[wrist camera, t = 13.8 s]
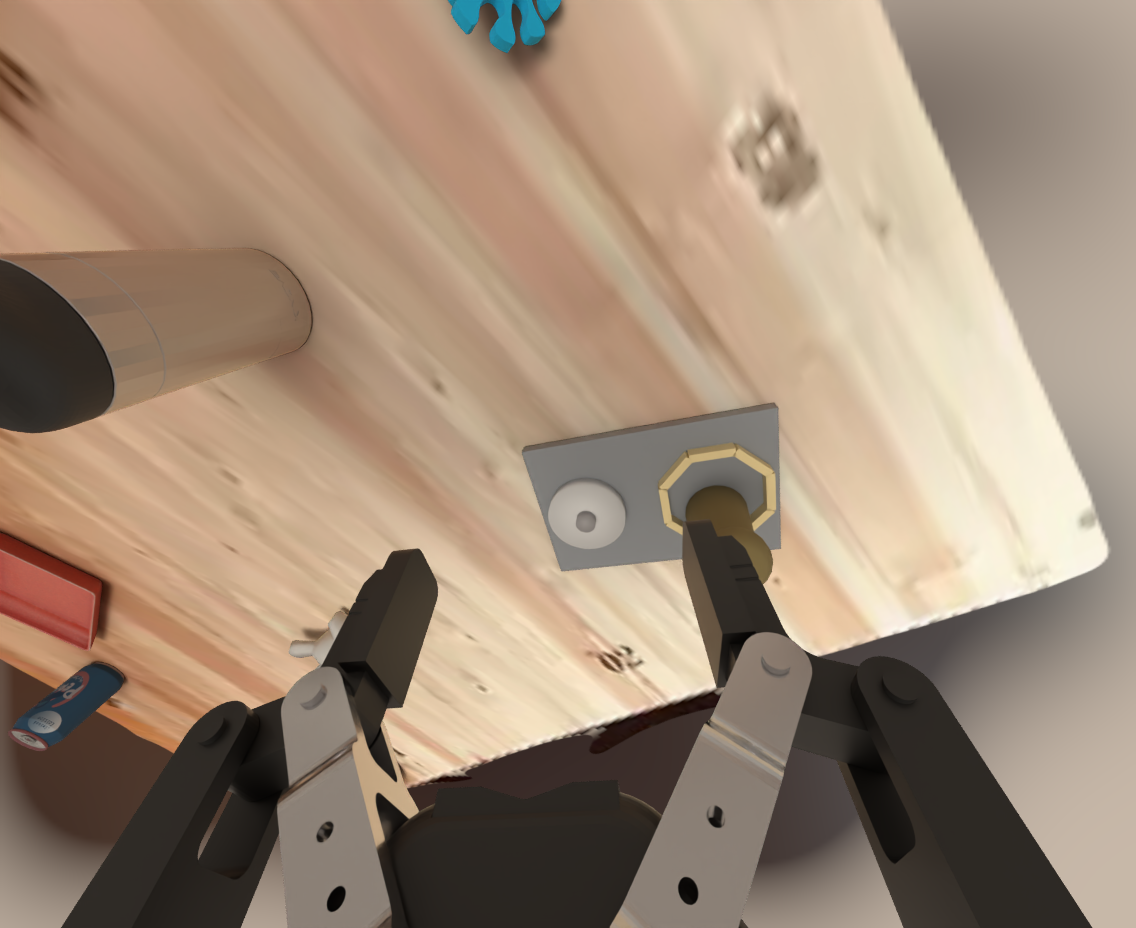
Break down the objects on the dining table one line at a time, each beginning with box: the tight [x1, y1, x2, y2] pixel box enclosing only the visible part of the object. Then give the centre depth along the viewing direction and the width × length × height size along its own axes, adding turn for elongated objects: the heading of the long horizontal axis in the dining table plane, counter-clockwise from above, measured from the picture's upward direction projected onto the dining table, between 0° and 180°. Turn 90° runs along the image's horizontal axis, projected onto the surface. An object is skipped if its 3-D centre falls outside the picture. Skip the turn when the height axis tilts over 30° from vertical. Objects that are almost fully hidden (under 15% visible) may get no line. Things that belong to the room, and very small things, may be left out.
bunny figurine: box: [289, 611, 348, 669], centre depth 59 cm, size 10×5×15 cm
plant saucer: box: [0, 533, 102, 651], centre depth 63 cm, size 18×18×3 cm
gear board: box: [522, 403, 781, 571], centre depth 42 cm, size 24×16×4 cm, turn 104°
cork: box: [685, 485, 773, 584], centre depth 36 cm, size 6×6×11 cm
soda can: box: [8, 662, 125, 751], centre depth 71 cm, size 7×7×12 cm
